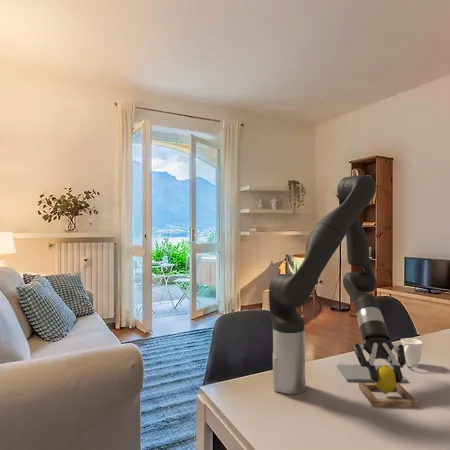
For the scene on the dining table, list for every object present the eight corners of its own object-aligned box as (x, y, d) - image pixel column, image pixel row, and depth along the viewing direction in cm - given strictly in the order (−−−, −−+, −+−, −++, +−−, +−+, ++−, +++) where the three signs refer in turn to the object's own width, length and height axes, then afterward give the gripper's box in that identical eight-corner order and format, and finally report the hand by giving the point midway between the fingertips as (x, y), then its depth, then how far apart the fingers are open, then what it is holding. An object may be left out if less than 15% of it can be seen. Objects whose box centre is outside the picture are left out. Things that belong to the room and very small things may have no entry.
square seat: (372, 406, 93) (372, 400, 93) (359, 387, 104) (358, 382, 104) (417, 407, 92) (417, 401, 92) (398, 388, 104) (398, 383, 104)
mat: (346, 381, 109) (346, 379, 109) (337, 366, 121) (337, 364, 121) (407, 382, 108) (407, 379, 108) (391, 367, 120) (391, 365, 120)
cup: (426, 364, 122) (426, 341, 122) (416, 372, 115) (415, 347, 115) (405, 359, 127) (404, 336, 127) (393, 366, 120) (393, 342, 121)
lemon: (399, 399, 95) (398, 369, 95) (377, 397, 96) (376, 367, 97) (393, 390, 101) (393, 362, 101) (372, 388, 102) (372, 360, 102)
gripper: (350, 318, 107) (364, 374, 95) (399, 319, 106) (419, 376, 94) (345, 331, 112) (358, 386, 100) (392, 332, 111) (410, 387, 99)
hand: (387, 381), depth 97 cm, fingers closed on lemon, 5 cm apart
